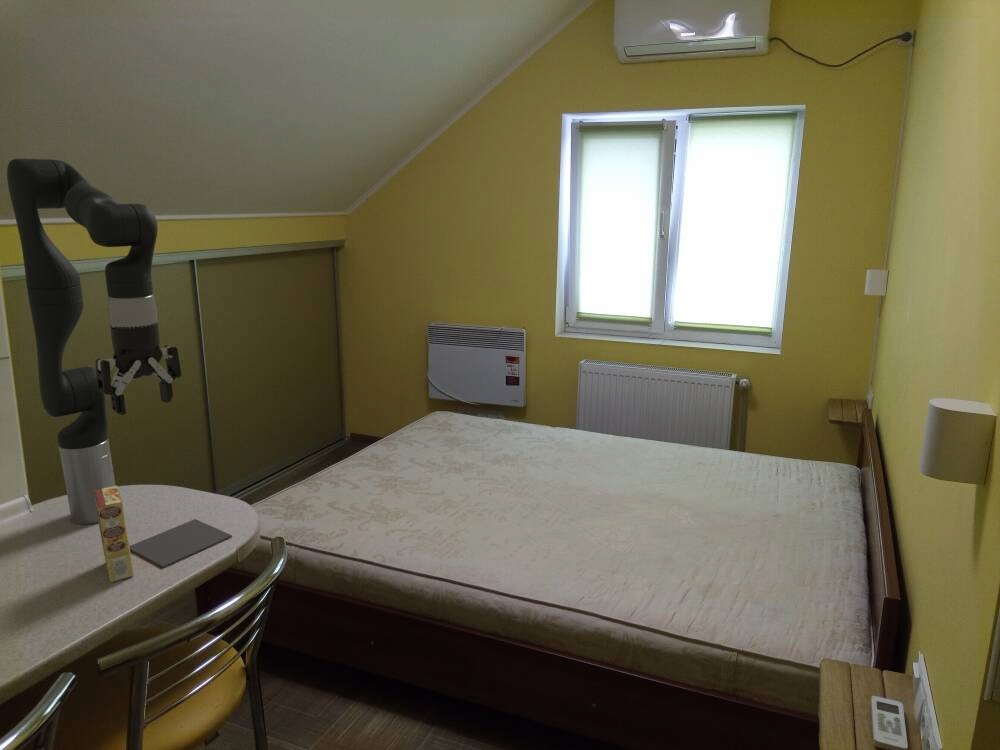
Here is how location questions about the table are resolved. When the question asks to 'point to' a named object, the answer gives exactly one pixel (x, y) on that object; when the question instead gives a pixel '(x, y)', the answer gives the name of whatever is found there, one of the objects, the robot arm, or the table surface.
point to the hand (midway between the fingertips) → (144, 407)
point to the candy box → (113, 533)
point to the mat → (179, 543)
